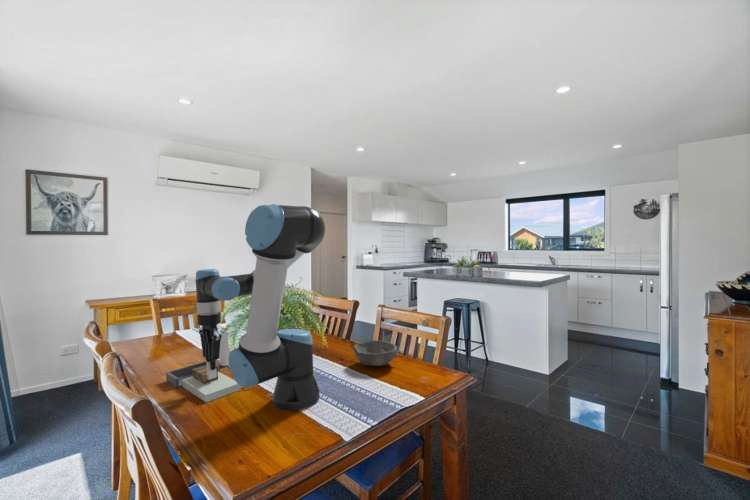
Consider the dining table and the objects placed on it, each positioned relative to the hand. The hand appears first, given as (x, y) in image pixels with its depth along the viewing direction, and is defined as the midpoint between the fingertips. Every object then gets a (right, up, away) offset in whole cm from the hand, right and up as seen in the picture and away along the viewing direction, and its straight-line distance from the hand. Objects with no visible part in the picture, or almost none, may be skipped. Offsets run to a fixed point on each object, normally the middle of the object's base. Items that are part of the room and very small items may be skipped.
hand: (211, 377), depth 127 cm
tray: (-12, -4, +11) cm, 17 cm away
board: (-1, -4, +1) cm, 4 cm away
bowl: (+59, -2, +20) cm, 62 cm away
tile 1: (-6, -2, +6) cm, 8 cm away
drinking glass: (-5, -3, +25) cm, 26 cm away
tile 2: (-2, -2, +2) cm, 4 cm away
